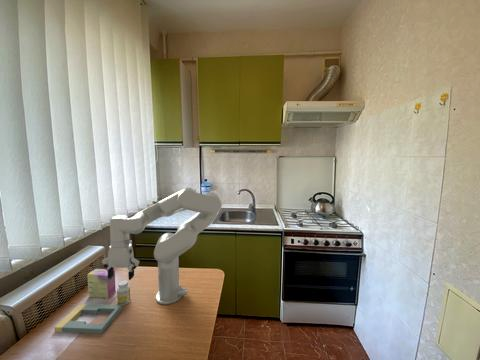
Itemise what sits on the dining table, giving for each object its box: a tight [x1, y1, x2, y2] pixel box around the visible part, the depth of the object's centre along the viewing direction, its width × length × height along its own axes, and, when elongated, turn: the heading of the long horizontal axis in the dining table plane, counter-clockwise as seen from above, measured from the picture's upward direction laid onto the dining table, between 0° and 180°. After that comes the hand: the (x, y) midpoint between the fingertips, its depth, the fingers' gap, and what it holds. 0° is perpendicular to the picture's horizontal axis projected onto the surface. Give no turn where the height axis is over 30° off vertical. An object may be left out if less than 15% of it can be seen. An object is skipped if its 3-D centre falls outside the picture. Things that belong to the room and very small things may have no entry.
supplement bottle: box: [116, 279, 131, 306], centre depth 98 cm, size 5×5×10 cm
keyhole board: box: [53, 303, 123, 335], centre depth 88 cm, size 19×13×2 cm
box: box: [87, 268, 117, 299], centre depth 104 cm, size 10×6×12 cm, turn 84°
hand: (121, 277), depth 97 cm, fingers open, 9 cm apart
